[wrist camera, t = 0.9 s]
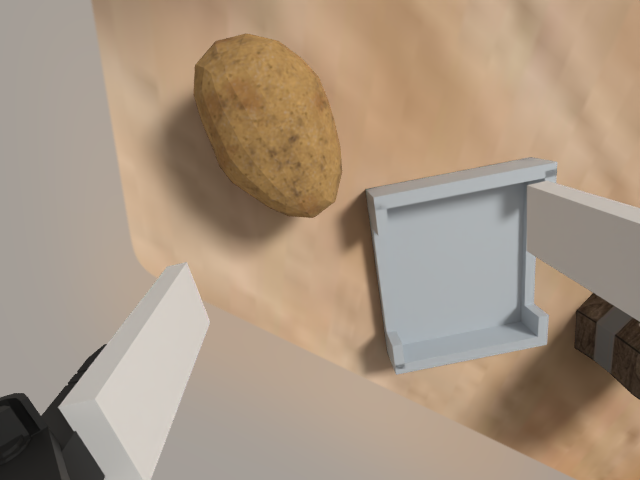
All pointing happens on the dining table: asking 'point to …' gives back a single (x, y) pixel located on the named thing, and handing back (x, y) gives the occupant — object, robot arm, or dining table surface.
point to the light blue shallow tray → (457, 264)
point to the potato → (269, 124)
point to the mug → (610, 340)
